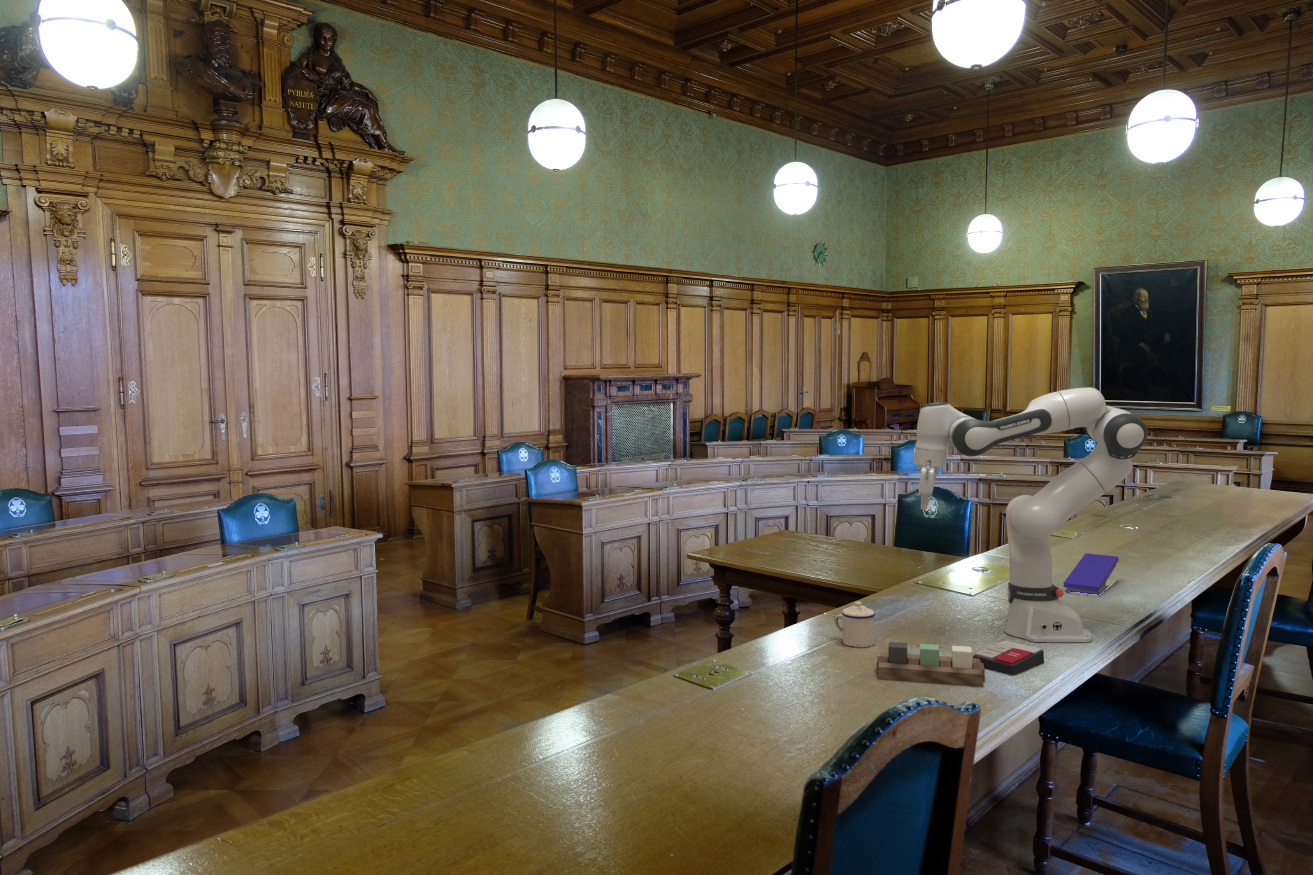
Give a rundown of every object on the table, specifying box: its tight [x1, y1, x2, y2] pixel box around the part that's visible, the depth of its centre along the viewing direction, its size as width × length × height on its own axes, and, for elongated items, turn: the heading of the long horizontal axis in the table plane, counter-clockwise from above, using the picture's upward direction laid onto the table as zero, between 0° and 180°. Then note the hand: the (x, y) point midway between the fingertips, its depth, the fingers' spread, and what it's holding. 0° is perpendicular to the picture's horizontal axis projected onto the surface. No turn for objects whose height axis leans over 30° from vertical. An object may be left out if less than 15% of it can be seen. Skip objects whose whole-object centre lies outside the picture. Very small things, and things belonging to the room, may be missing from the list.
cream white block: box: [951, 645, 973, 669], centre depth 200 cm, size 4×4×5 cm
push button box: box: [972, 640, 1045, 677], centre depth 209 cm, size 11×4×15 cm
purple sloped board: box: [1063, 552, 1120, 595], centre depth 287 cm, size 12×28×10 cm, turn 139°
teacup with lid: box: [834, 601, 876, 648], centre depth 231 cm, size 12×9×12 cm
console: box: [876, 651, 986, 688], centre depth 203 cm, size 25×12×3 cm, turn 72°
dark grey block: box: [887, 641, 908, 664], centre depth 205 cm, size 4×4×5 cm
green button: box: [919, 643, 940, 667], centre depth 203 cm, size 4×4×5 cm
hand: (924, 506), depth 235 cm, fingers open, 8 cm apart
